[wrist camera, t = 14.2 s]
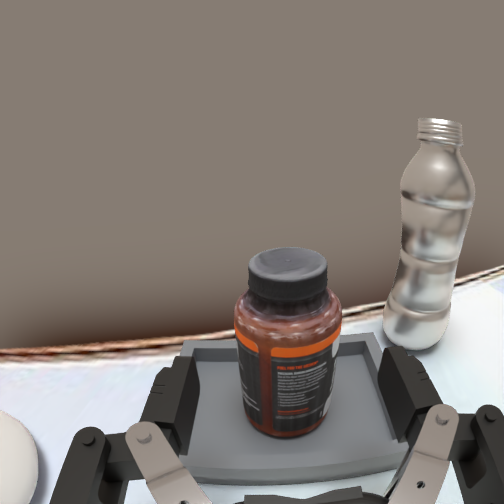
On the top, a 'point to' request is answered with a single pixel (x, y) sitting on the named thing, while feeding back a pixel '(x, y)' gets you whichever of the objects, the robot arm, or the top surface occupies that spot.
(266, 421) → the supplement bottle
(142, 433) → the robot arm
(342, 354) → the gray tray
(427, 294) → the plastic bottle
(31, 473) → the flower in vase
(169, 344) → the top surface
